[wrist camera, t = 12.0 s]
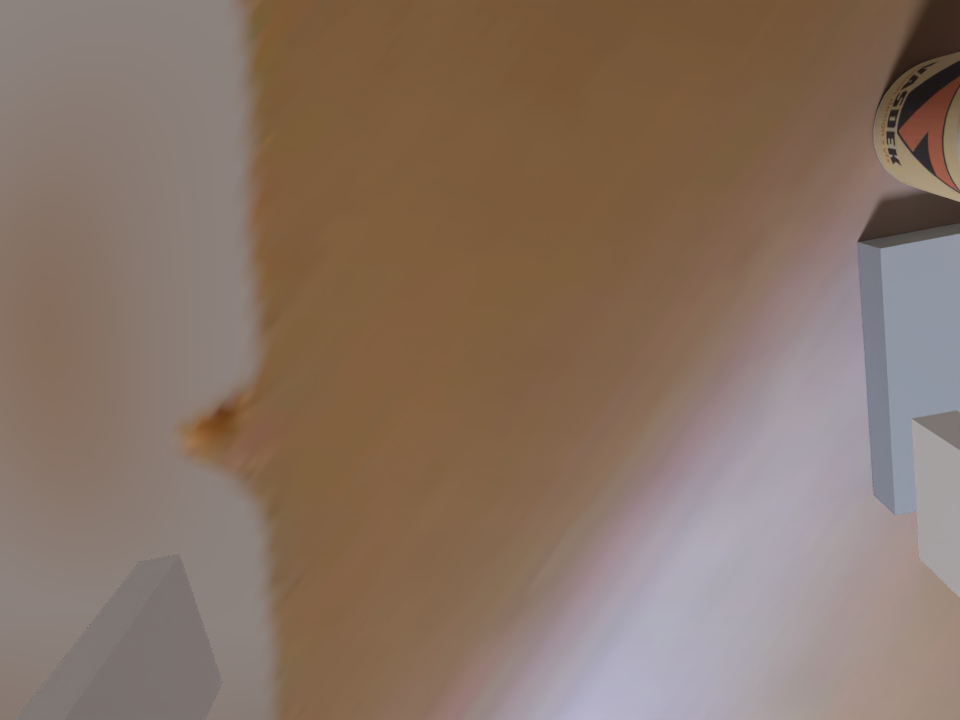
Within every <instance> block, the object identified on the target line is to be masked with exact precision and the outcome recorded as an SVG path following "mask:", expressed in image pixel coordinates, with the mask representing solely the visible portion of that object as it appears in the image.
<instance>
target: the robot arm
mask: <svg viewBox="0 0 960 720" xmlns="http://www.w3.org/2000/svg"><path fill="white" fill-rule="evenodd" d="M912 436H913V453H914V471H915V488H916V506H917V523H918V541H919V558H920V560H921V561H922V562H923V563H924V564H925V565H927V566H928V567H929V568H930V569H931V570H932V571H933V572H934V573H935V574H936V575H937V576H938V577H939V578H940V579H941V580H942V581H943V582H944V583H945V584H946V585H947V586H948V587H949V588H950V589H951V590H953V591H954V592H955V593H956V594H957V595H958V596H959V597H960V412H958V411H957V410H955V411H950V412H945V413H939V414H934V415H928V416H923V417H918V418H912ZM222 682H223V681H222V678H221V676H220V673H219V670H218V667H217V664H216V661H215V658H214V655H213V652H212V649H211V646H210V643H209V640H208V637H207V634H206V631H205V628H204V625H203V622H202V619H201V616H200V613H199V610H198V607H197V604H196V601H195V598H194V595H193V592H192V589H191V586H190V583H189V580H188V577H187V574H186V571H185V568H184V565H183V563H182V560H181V557H180V554H178V555H173V556H167V557H162V558H156V559H151V560H146V561H140V562H138V564H137V565H136V566H135V567H134V569H133V570H132V571H131V573H130V574H129V575H128V576H127V578H126V579H125V580H124V582H123V583H122V584H121V585H120V587H119V588H118V589H117V590H116V592H115V593H114V594H113V596H112V597H111V598H110V599H109V601H108V602H107V603H106V604H105V606H104V607H103V608H102V610H101V611H100V612H99V613H98V615H97V616H96V617H95V619H94V620H93V621H92V622H91V624H90V625H89V626H88V627H87V629H86V630H85V631H84V633H83V634H82V635H81V637H80V638H79V639H78V640H77V642H76V643H75V644H74V645H73V647H72V648H71V649H70V650H69V652H68V653H67V654H66V656H65V657H64V658H63V660H62V661H61V662H60V663H59V665H58V666H57V667H56V669H55V670H54V671H53V672H52V673H51V675H50V676H49V677H48V679H47V680H46V681H45V683H44V684H43V685H42V686H41V688H40V689H39V690H38V691H37V693H36V694H35V695H34V696H33V698H32V699H31V700H30V702H29V703H28V704H27V705H26V707H25V708H24V709H23V711H22V712H21V713H20V715H19V716H18V717H17V718H16V719H15V720H205V719H206V717H207V715H208V713H209V710H210V708H211V706H212V704H213V702H214V700H215V697H216V695H217V693H218V691H219V689H220V687H221V684H222Z"/></svg>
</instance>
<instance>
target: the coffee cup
mask: <svg viewBox="0 0 960 720" xmlns="http://www.w3.org/2000/svg"><path fill="white" fill-rule="evenodd" d="M873 139H874V146H875V150H876V153H877V156H878V158H879V160H880V162H881V164H882V165H883V167H884V168H885V169H886V170H887V172H888V173H890V174H891V175H892V176H893V177H894V178H896V179H897V180H899V181H900V182H902V183H904V184H907V185H910V186H912V187H915V188H917V189H920V190H923V191H927V192H930V193H933V194H936V195H939V196H943V197H946V198H949V199H952V200H955V201H958V202H960V52H957V53H953V54H949V55H946V56H942V57H938V58H935V59H932V60H929V61H926V62H923V63H921V64H919V65H916V66H915V67H913V68H911V69H910V70H908V71H907V72H905V73H904V74H903V75H901V76H900V77H899V78H898V79H897V80H896V81H895V82H894V83H893V84H892V86H891V87H890V88H889V90H888V91H887V92H886V94H885V95H884V97H883V99H882V100H881V103H880V105H879V107H878V110H877V113H876V116H875V121H874V128H873Z"/></svg>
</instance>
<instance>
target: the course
mask: <svg viewBox="0 0 960 720" xmlns="http://www.w3.org/2000/svg"><path fill="white" fill-rule="evenodd" d="M858 255H859V271H860V287H861V302H862V318H863V334H864V349H865V365H866V381H867V397H868V412H869V428H870V444H871V459H872V475H873V491H874V496H875V497H876V498H877V499H878V500H879V501H880V502H881V503H883V504H884V505H885V506H886V507H887V508H888V509H889V510H890V511H891V512H892V513H893V514H895V515H899V514H905V513H910V512H916V511H917V506H916V488H915V471H914V453H913V436H912V418H918V417H923V416H928V415H934V414H939V413H945V412H950V411H955V410H957V411H958V412H960V223H956V224H951V225H946V226H940V227H935V228H930V229H925V230H919V231H914V232H909V233H903V234H898V235H893V236H887V237H882V238H877V239H871V240H866V241H861V242H858Z"/></svg>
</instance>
